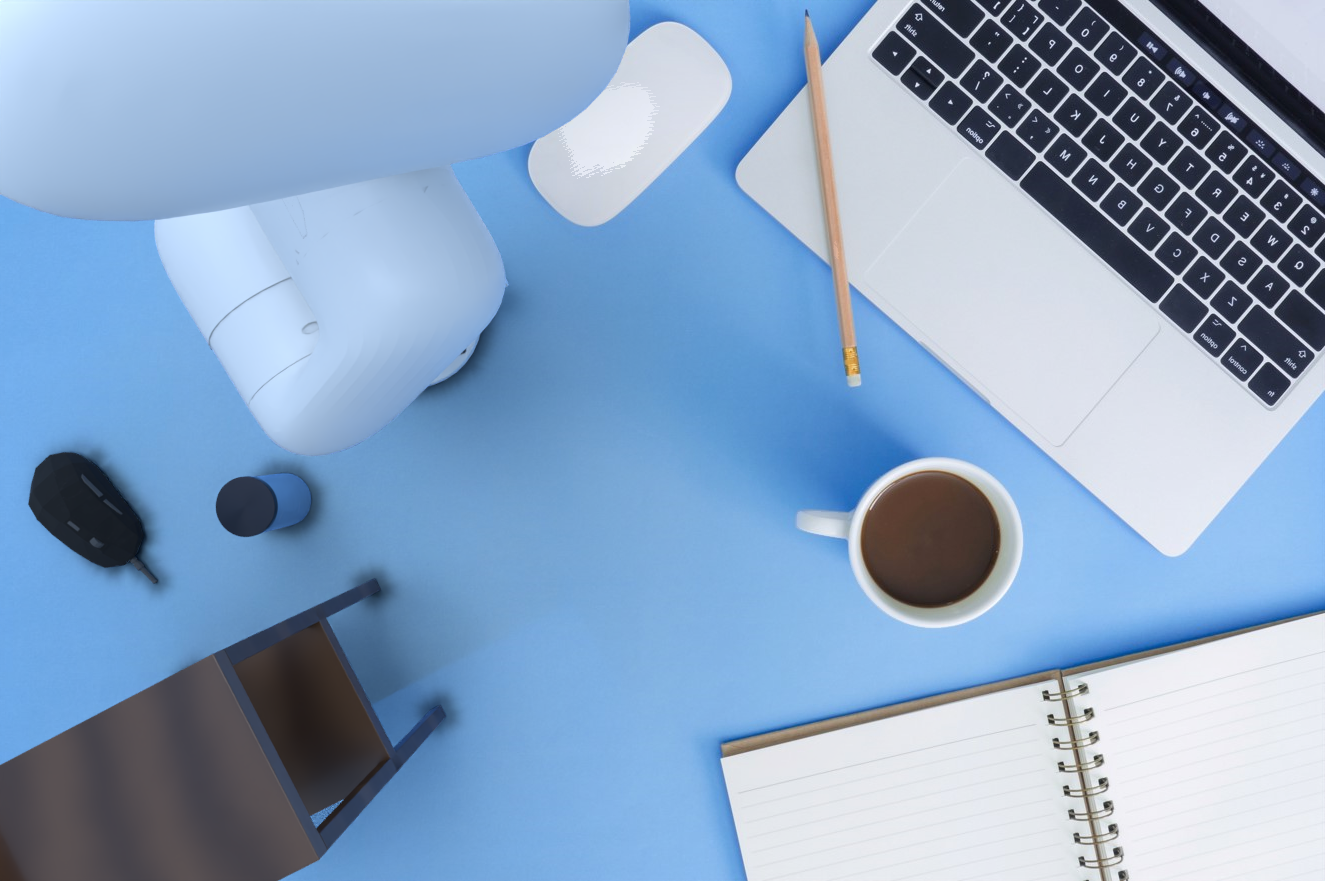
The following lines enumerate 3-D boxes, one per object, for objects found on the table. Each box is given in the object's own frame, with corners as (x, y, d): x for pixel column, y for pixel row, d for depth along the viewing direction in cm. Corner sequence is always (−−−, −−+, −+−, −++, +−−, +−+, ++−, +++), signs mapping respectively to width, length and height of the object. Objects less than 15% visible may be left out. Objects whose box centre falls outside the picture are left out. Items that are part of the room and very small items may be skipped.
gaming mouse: (132, 604, 80) (102, 614, 76) (26, 483, 80) (-10, 486, 76) (182, 559, 80) (154, 566, 76) (75, 437, 80) (42, 438, 76)
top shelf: (223, 648, 54) (193, 662, 51) (328, 850, 54) (304, 877, 51) (-50, 791, 55) (-96, 813, 52) (52, 989, 55) (12, 1024, 52)
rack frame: (375, 577, 79) (223, 648, 54) (446, 716, 79) (328, 850, 54) (184, 677, 80) (-50, 791, 55) (254, 814, 80) (52, 989, 55)
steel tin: (296, 462, 79) (257, 465, 72) (322, 511, 79) (285, 519, 72) (249, 487, 79) (204, 493, 72) (274, 536, 79) (232, 547, 72)
